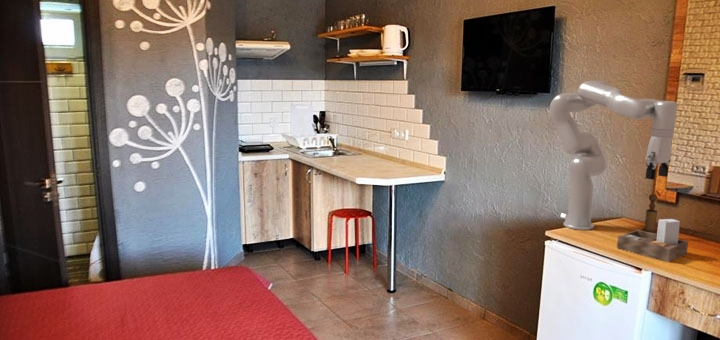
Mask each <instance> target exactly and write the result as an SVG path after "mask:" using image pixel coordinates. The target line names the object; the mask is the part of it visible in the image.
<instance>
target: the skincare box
mask: <svg viewBox="0 0 720 340" xmlns="http://www.w3.org/2000/svg"><path fill="white" fill-rule="evenodd" d="M680 225H681V221H680V220H679V219H678V220H677V219H674V218H664V219H663V218H662V219H658V223H657V229H656V230H657V240H656V241H658V242H662V243H667V244H670V245H674V246H675V245H677V244H678V239H679V236H680V235H679V234H680Z"/></svg>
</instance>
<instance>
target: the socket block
mask: <svg viewBox="0 0 720 340" xmlns="http://www.w3.org/2000/svg"><path fill="white" fill-rule="evenodd" d="M641 230H642V229H636V230H632V231H629V232H627V233H624V234H620V235H618V236H617V244H616V249H617V248H618V249H617V250H620V249H622V250H621V251H624V250H626V251H625V252H628V251H630V252H629V253H631V252H634V253H633V254H635V253H637V254H636V255H639V254H640V256H643V255H644V257H647V258H650V259H654V260H659V261H662V262H665V263H670V262H672V261H675V260H677V259H678V258H681V257H684V256H686V255H687V254H688V247H689V241H688V240H683V239H680V238H678V244H677V245H675V246H674V245H670V244H667V243H662V242H658V241H656V240H657V234H654V233H650V232H645V231H641Z"/></svg>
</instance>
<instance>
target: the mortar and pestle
mask: <svg viewBox="0 0 720 340" xmlns="http://www.w3.org/2000/svg"><path fill="white" fill-rule="evenodd" d="M648 200H649V201H650V203H649V205H648V207H649V209H646V210H645V211H646V212H645V222H644V227H643V228H641V229H640V230H641V231H645V232H650V233H654V234H657V230H658V229H656V225H657V217H658V210H656V209H655V208H656V204H655V203H656V201H657V200H658V196H657V195H656V194H655V193H651V194H649V196H648Z"/></svg>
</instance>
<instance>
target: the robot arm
mask: <svg viewBox="0 0 720 340" xmlns="http://www.w3.org/2000/svg"><path fill="white" fill-rule="evenodd" d="M596 105H598V106H602V107H605V108H607V109H609V110H611V111H612V112H613V113H616V114H617V115H620V116H624V117H627V118H629V119H634V120H641V119H652V124H651V132H650V139H649V143H648V145H647V150H646V156H645V162H646V163H645V164H646V171H645V179H647V180H653V181H654V180H655V178H656V172H657V169H656V167H657V165H659V168H658V176H659V177H663V178H664V177H665V178H667V177H668V174H669V166H670V163H671V158H672V148H673V147H672V145H673V139H674V135H675V127H676V122H677V115H678V114H677V113H678V103H677V101H672V100H658V99H653V98H633V97H630V96H627V95H623V94H622V91H621V90H620V88H617V87H614V86H611V85H609V84H608V83H607V82H606V81H603V80H587V81H584V82H582V83H581V84H580V85H579V86H578V89H577V92H565V93H561V94H558V95H556V96H554V98H553V99H552V100H551V102H550V105H549V115H550V117H551V121H552V123H553V124H554V127H555V129H556V131H557V134H558V136H559V138H560V141H561V144H562V146H563V148H564V150H565V152H566V153H567V154H568V155H579V156H575V157H573V159H571V161H570V162H569V165H568V174H569V193H568V194H569V195H568V210H567V211H568V212H567V213H563V212H562V213H561V214H560V219H564V220H565V221H563V227H566V228H569V229H572V230H579V231H588V230H593V229H594V228H595V225H594V224H593V222H591V221H592V220H591V219H592V210H593V209H592V207H593V197H594V196H593V194H594V183H593V179H592V177H595V176H600V175H602V174H603V173H604V172H605V171H606V169H607V163H606V157H605V155H604V154H603V151H602V149H601V146H600V144H599V141H598V140H597V138H596V137H595V136H594V134H592V133H590V132H587V131H584V132H583V131H582V132H581V131H580V129H579V126H578V125H577V122H576V120H575V119H574V118H573V117H572V116H571V114H570V113H579V112H584V111H586V110H588V109H590V108H591V107H594V106H596Z"/></svg>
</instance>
